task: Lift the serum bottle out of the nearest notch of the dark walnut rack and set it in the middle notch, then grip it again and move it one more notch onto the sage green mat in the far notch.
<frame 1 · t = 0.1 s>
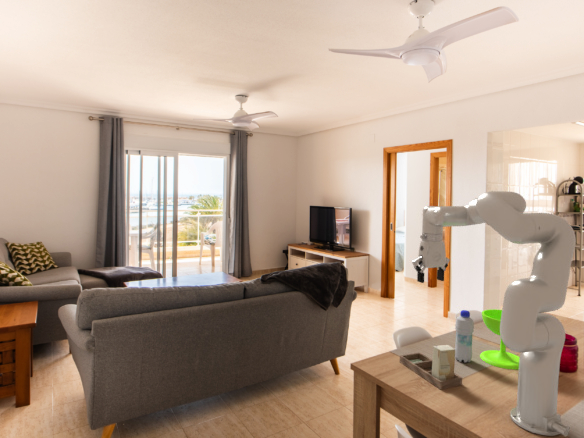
hand: (430, 281, 148), 31 cm above the table, tool pointing down, fingers open, 9 cm apart
skincare box: (442, 382, 132), resting in notch rack
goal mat: (416, 364, 145), resting in notch rack
bottle: (463, 360, 149), on the table
wineglass: (502, 360, 149), on the table
notch rack: (428, 372, 138), on the table
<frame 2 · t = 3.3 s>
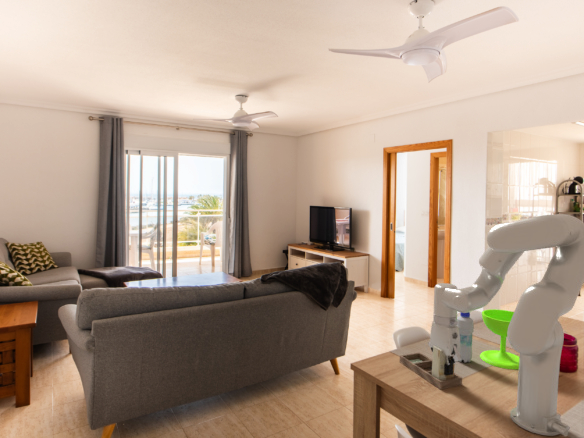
hand: (443, 370, 131), 4 cm above the table, tool pointing down, fingers closed on skincare box, 4 cm apart
skincare box: (442, 382, 132), resting in notch rack, touching gripper
everything else where it was.
when the fingers open (5 cm above the table, at t = 8.1 s): skincare box drops 1 cm, resting in notch rack.
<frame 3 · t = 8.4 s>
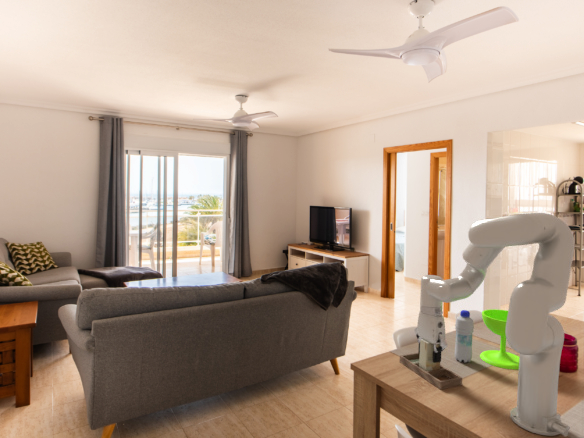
hand: (429, 357, 138), 6 cm above the table, tool pointing down, fingers open, 7 cm apart
skincare box: (429, 373, 138), resting in notch rack
everything else where it was.
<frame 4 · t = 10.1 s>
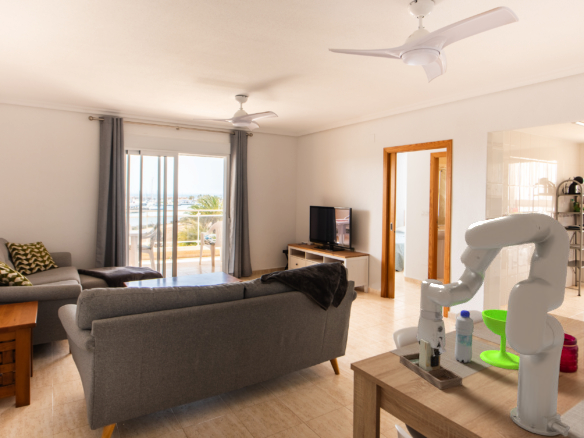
hand: (429, 362, 138), 4 cm above the table, tool pointing down, fingers closed on skincare box, 4 cm apart
skincare box: (429, 373, 138), resting in notch rack, touching gripper
everything else where it was.
when the fingers open (6 cm above the table, at t = 14.8 s): skincare box drops 1 cm, resting on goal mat.
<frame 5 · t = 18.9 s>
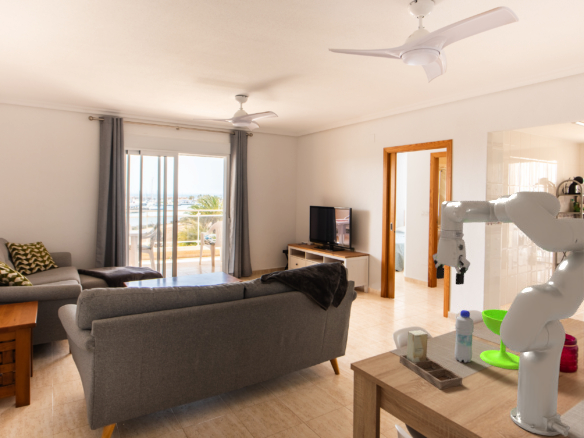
hand: (449, 281, 139), 33 cm above the table, tool pointing down, fingers open, 9 cm apart
skincare box: (416, 364, 145), resting on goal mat
everything else where it was.
at the end: skincare box 0.1 cm from the target spot on the notch rack, point 0.2 cm above the notch rack's base; skincare box tilted 0°; the gripper is holding nothing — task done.
